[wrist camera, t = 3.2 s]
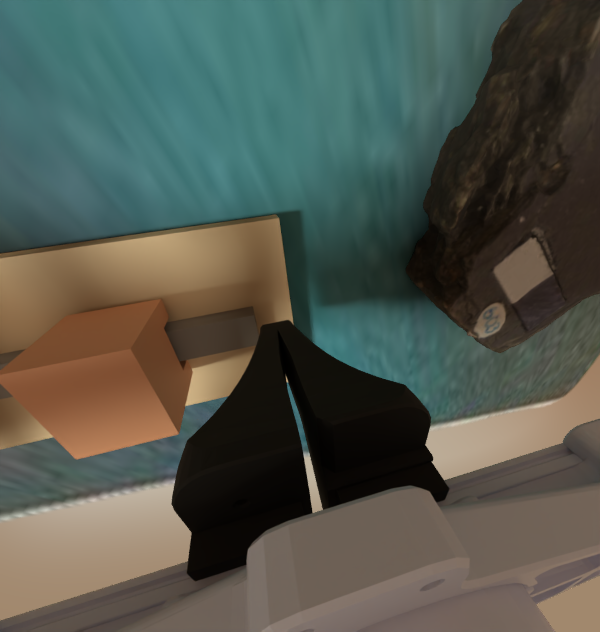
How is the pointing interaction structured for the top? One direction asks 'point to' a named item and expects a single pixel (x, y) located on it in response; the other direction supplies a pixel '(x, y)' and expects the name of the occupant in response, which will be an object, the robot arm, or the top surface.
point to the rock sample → (520, 182)
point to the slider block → (103, 379)
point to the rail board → (146, 285)
